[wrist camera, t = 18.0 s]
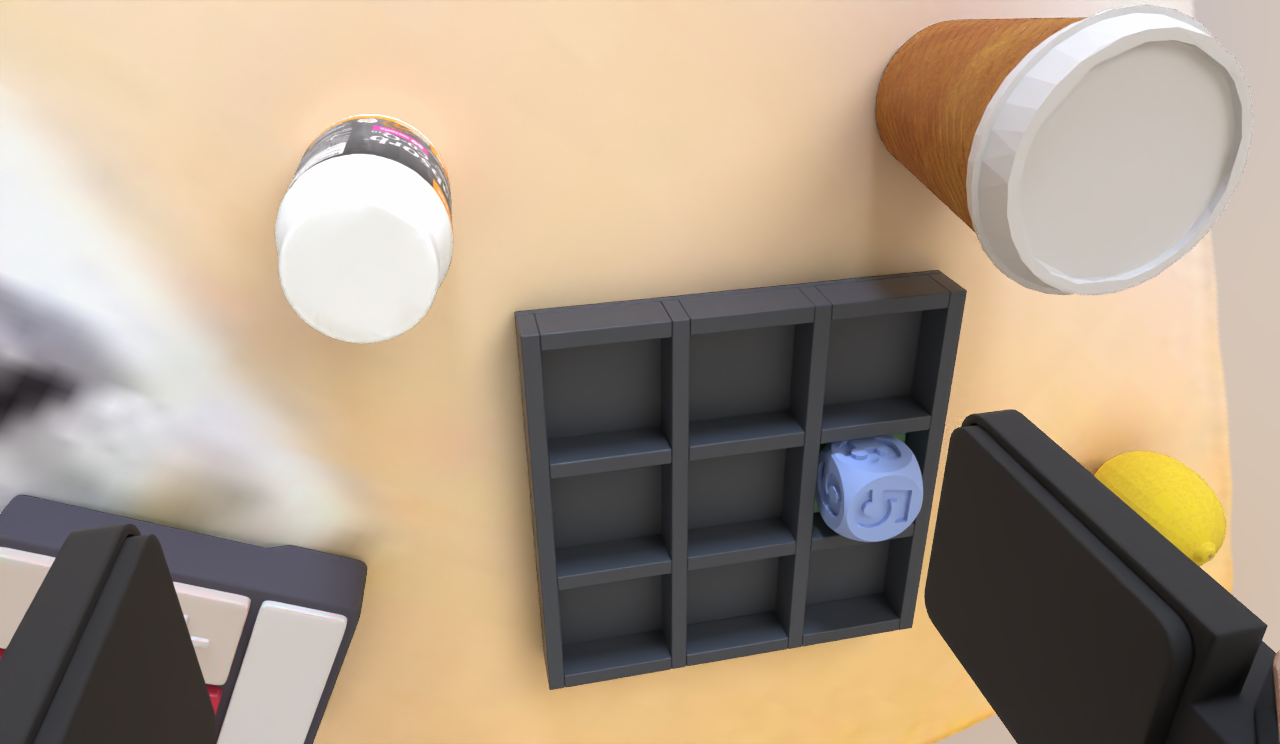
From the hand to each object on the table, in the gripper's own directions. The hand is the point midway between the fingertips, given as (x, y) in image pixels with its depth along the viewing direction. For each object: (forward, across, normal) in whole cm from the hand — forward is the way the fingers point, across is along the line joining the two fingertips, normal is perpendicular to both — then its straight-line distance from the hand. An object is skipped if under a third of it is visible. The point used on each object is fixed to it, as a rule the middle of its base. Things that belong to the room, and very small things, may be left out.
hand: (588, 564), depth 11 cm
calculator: (+28, +16, +23) cm, 40 cm away
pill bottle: (+28, +4, +3) cm, 29 cm away
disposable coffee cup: (+28, -20, +1) cm, 35 cm away
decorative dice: (+28, -17, +19) cm, 38 cm away
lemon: (+28, -33, +22) cm, 49 cm away
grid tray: (+28, -11, +19) cm, 36 cm away
